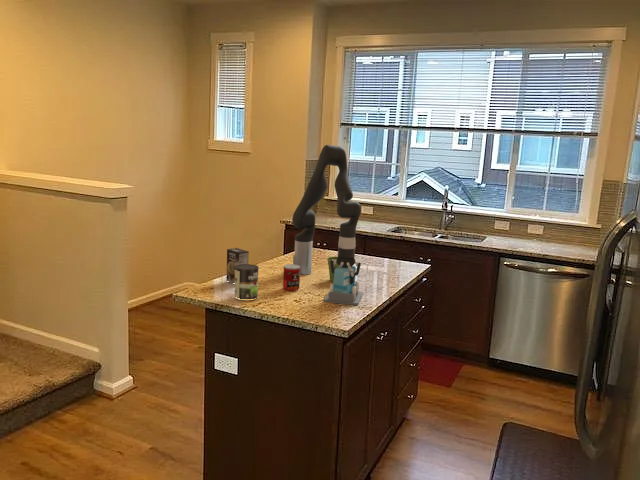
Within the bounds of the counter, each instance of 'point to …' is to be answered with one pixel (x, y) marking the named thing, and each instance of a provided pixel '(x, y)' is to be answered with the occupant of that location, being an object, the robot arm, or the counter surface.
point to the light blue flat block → (343, 280)
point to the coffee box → (235, 261)
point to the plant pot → (330, 267)
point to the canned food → (291, 277)
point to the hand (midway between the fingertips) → (344, 283)
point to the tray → (344, 296)
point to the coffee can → (246, 281)
